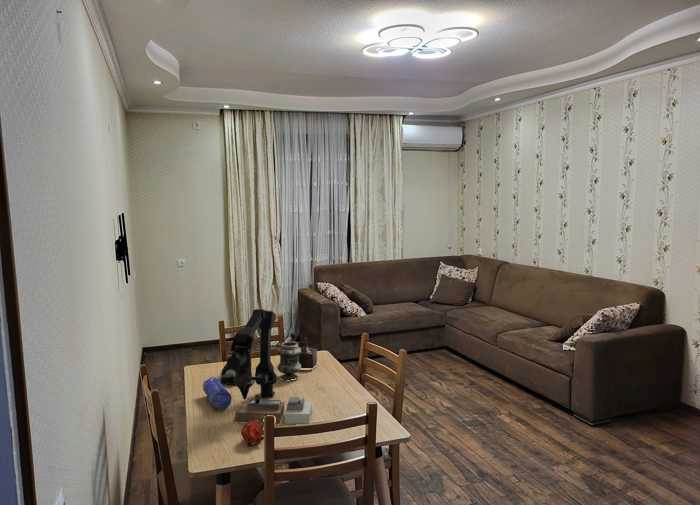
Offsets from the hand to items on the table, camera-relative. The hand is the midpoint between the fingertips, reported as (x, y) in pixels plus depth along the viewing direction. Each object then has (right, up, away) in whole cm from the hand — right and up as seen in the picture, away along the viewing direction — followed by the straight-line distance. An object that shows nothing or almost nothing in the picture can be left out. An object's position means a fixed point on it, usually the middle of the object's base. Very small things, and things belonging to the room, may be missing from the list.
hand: (244, 399), depth 212 cm
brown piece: (+17, -2, +66) cm, 68 cm away
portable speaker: (-15, -3, +50) cm, 52 cm away
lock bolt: (+9, -3, 0) cm, 9 cm away
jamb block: (+22, -8, 0) cm, 24 cm away
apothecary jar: (+13, -3, +48) cm, 50 cm away
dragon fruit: (+8, -10, -22) cm, 26 cm away
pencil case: (-16, -6, +16) cm, 23 cm away
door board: (+7, -8, +1) cm, 10 cm away
